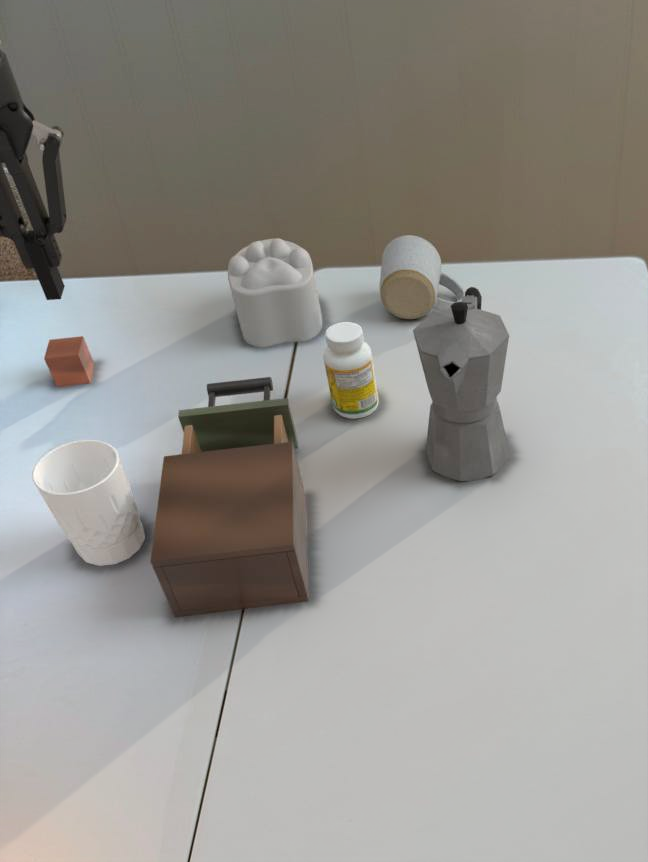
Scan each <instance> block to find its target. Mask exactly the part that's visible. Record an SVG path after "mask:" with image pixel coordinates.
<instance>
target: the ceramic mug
mask: <svg viewBox="0 0 648 862" xmlns="http://www.w3.org/2000/svg"><path fill="white" fill-rule="evenodd" d="M439 285H440V286H443V287H444V288H447V289H448V290H449V291H451V292H452V293H453V294H454V295H455V296H456V301H448V300H446V299H443V298H441V297H440V298H439V297H438V292H439ZM465 292H466V291H465V289H464V287H463V286H462V285H461V284H460V283H459V282H458V281H456V280H455V279H454V278H453V277H451V276H449V274H445V273H443V272H442V260H441V255H440V253H439V252H438V250H437V249H436V247H435V246H434V245H433V243H431V242H430V241H428V240H427V239H424V238H423V237H421V236H417V235H410V234H407V235H401V236H398V237H396V238H394V239H392V240H391V241H390V242H389V243H388V244H387V245H386V246H385V248H384V250H383V252H382V256H381V265H380V278H379V296H380V299H381V302H382V304H383V306H384V307H385V309H386V310H387V311H388V312H389V313H390V314H392V315H393V316H395V317H397V318H400V319H403V320H416V319H420V318H422V317H424V316H426V315H427V314H428V313H430V311H431V310H432V309H436V310H438V311H442V310H448V309H451V305H452V304H453V303H455V302H461V301H462V298H463V296H465Z"/></svg>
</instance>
